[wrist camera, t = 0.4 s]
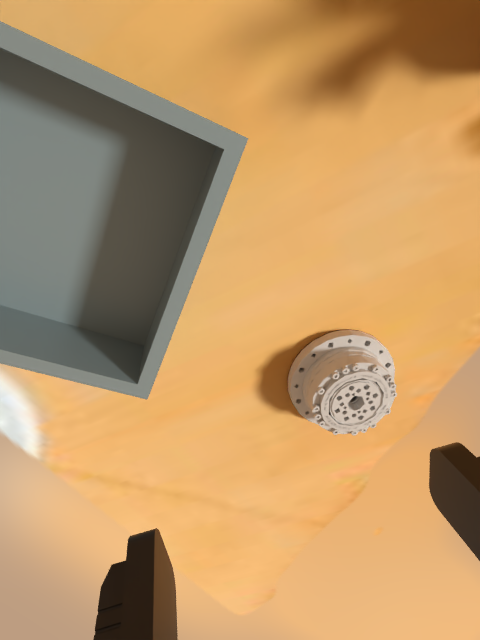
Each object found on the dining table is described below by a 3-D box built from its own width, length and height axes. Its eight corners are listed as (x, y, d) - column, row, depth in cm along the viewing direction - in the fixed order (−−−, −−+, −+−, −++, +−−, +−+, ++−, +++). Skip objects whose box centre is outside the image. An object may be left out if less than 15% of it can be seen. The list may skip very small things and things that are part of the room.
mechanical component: (272, 353, 35) (303, 430, 40) (283, 381, 31) (317, 463, 36) (375, 311, 35) (396, 393, 39) (400, 333, 31) (420, 422, 35)
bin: (-61, 0, 22) (-147, -49, 16) (233, 138, 27) (248, 138, 21) (-91, 284, 28) (-161, 323, 22) (153, 353, 33) (147, 399, 27)
